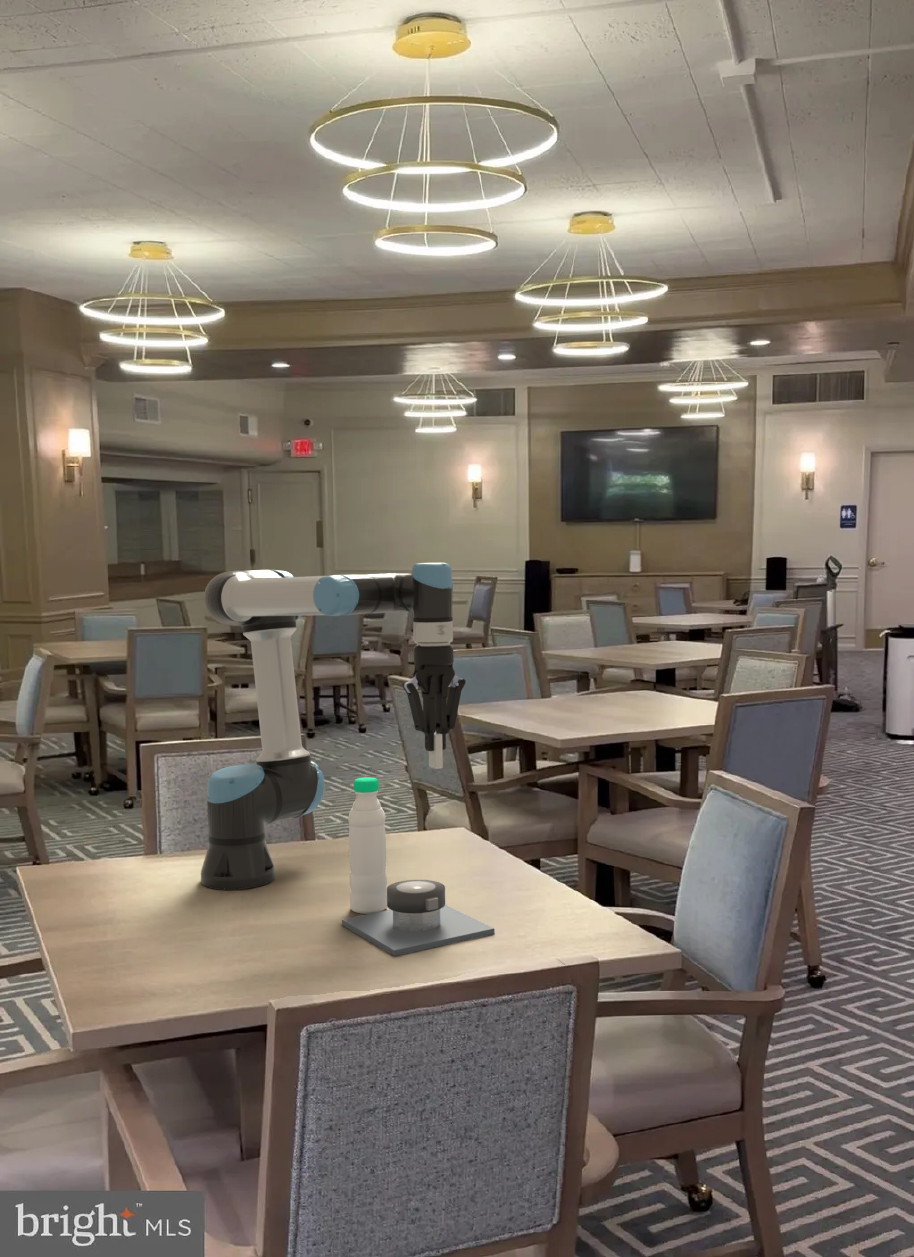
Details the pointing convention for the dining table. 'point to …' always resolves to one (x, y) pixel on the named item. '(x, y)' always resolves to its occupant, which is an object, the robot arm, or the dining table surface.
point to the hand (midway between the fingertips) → (435, 767)
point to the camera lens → (416, 896)
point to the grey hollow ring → (416, 921)
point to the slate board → (403, 942)
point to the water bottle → (367, 849)
